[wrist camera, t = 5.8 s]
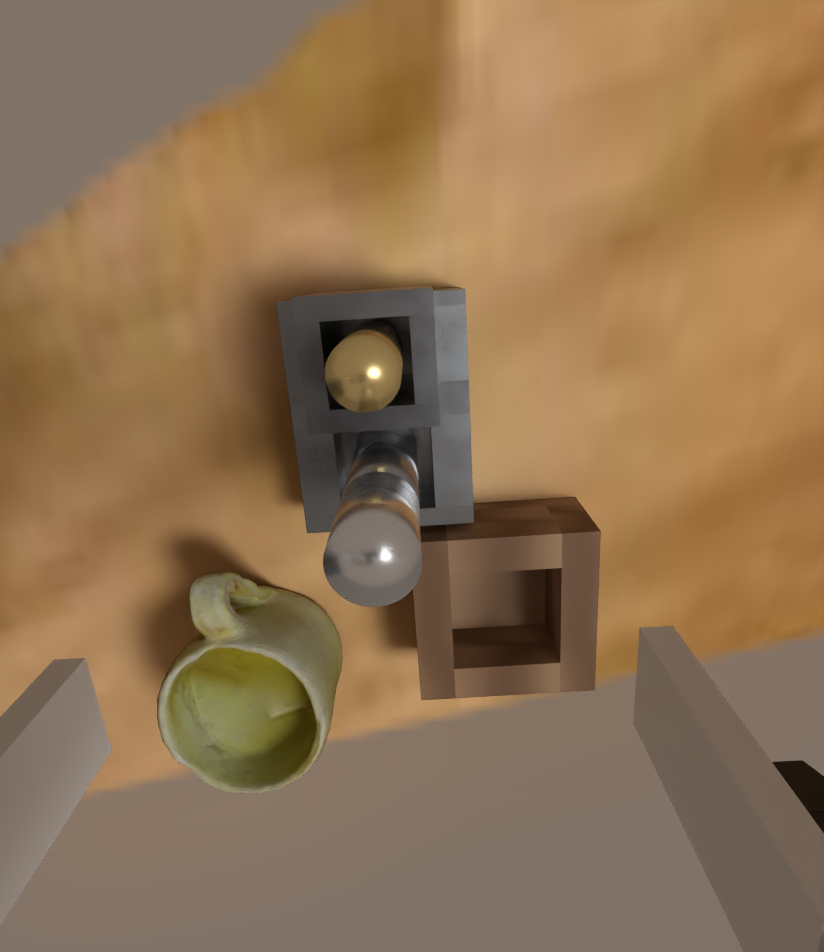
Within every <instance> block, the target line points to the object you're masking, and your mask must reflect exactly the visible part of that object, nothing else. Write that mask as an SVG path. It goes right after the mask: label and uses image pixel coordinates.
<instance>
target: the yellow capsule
mask: <svg viewBox="0 0 824 952" xmlns="http://www.w3.org/2000/svg"><path fill="white" fill-rule="evenodd" d="M403 353H404V349H403V343H402V340H401V338H400V336H399V334H398V333H397V332H396V331H395V330H394V329H393V328H392V327H391V326H389V325H388V324H386V323H383V322H380V321H367V322H364V323H361V324H359V325H358V326H356V327H355V328H354V329H353V330H352V331H351V332H350V333H349V334H348V335H347V336H346V337H345V338H344V339H343V340H342V341H341V342H340V343H339V344H338V345H337V346H336V347H335V348H334V349H333V350H332V352H331V353H330V355H329V357H328V359H327V362H326V366H325V380H326V384H327V387H328V389H329V392H330V393H331V395H332V396H333V398H334V399H335V400H336V401H337V402H338V403H339V404H341V405H342V406H343V407H345V408H347V409H349V410H352V411H355V412H362V413H367V412H373V411H377V410H379V409H381V408H383V407H385V406H386V405H387V404H389V403H390V402H391V401H392V400H393V399H394V397H395V396H396V394H397V392H398V390H399V388H400V384H401V378H402V366H403Z"/></svg>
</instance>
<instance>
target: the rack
mask: <svg viewBox="0 0 824 952" xmlns="http://www.w3.org/2000/svg"><path fill="white" fill-rule="evenodd" d="M473 512H474V523H462V524H446V525H430V526H420V532H421V557H422V567H421V573H420V576H419V579H418V581H417V583H416V585H415V586H414V588H413V597H414V610H415V623H416V636H417V650H418V663H419V676H420V690H421V700H434V699H451V698H468V697H486V696H503V695H520V694H538V693H555V692H572V691H589V690H595V669H596V643H597V616H598V590H599V563H600V537H601V531H600V530H599V528H598V527H597V526H596V524H595V523H594V521H593V520H592V519H591V517H590V516H589V515H588V513H587V512H586V511H585V509H584V508H583V507H582V505H581V504H580V503H579V501H578V500H577V498H576V497H571V498H555V499H539V500H523V501H508V502H492V503H476V504H473Z"/></svg>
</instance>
